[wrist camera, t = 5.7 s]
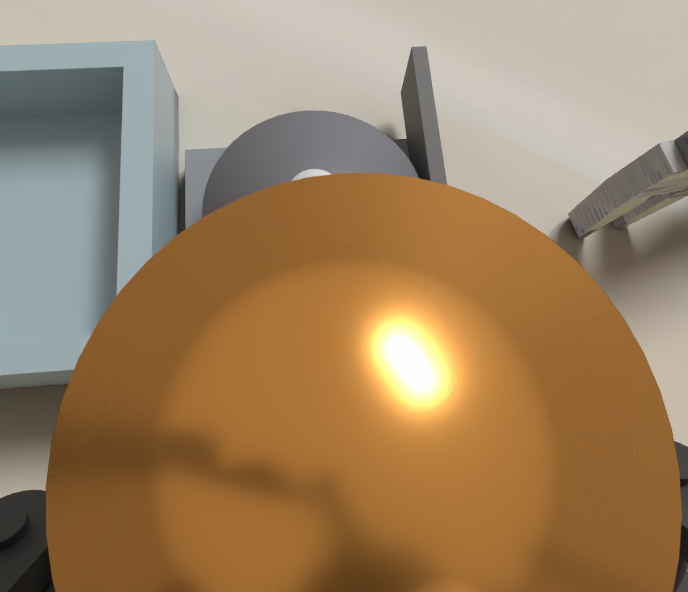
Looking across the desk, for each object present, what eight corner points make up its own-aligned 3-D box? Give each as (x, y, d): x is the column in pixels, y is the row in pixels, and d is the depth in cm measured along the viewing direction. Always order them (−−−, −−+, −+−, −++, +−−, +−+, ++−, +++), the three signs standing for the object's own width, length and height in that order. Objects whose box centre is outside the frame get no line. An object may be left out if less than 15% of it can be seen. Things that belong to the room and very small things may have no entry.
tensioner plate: (195, 567, 16) (155, 610, 12) (191, 118, 20) (160, 42, 16) (477, 537, 16) (526, 570, 13) (417, 107, 21) (440, 32, 17)
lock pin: (263, 520, 15) (18, 901, 3) (258, 374, 17) (64, 188, 4) (407, 506, 16) (759, 797, 3) (392, 363, 17) (607, 158, 4)
